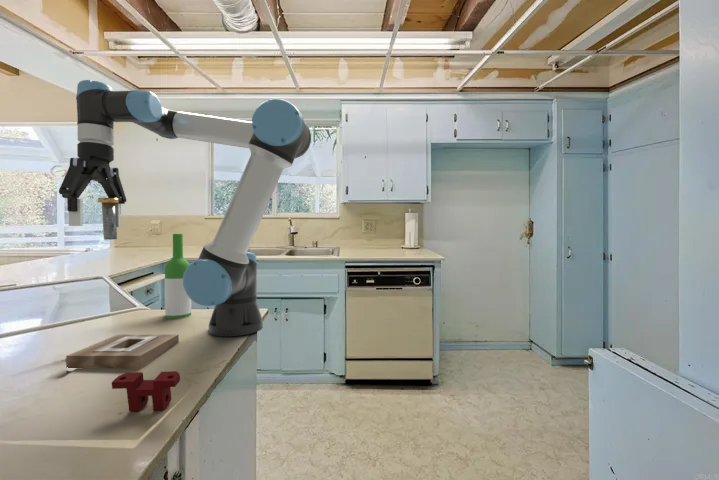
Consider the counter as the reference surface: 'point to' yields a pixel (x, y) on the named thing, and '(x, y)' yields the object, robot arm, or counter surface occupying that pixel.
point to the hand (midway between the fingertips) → (96, 226)
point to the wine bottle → (176, 283)
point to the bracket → (147, 389)
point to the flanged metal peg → (109, 217)
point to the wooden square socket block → (122, 352)
